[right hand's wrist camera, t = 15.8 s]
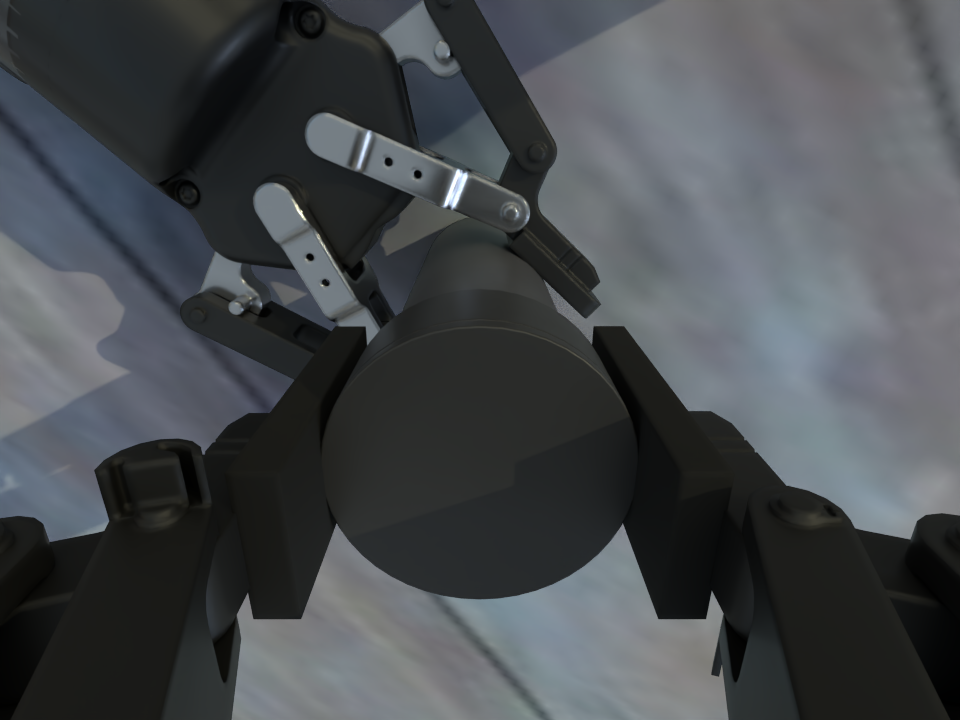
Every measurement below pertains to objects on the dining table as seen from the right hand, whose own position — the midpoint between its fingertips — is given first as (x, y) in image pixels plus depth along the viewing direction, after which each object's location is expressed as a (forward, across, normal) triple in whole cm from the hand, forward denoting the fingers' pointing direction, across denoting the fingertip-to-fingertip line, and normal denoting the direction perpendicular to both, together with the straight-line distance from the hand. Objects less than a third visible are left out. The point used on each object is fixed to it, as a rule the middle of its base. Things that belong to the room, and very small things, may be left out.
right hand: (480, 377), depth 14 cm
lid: (-4, 0, 0) cm, 4 cm away
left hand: (+6, -2, +2) cm, 6 cm away
